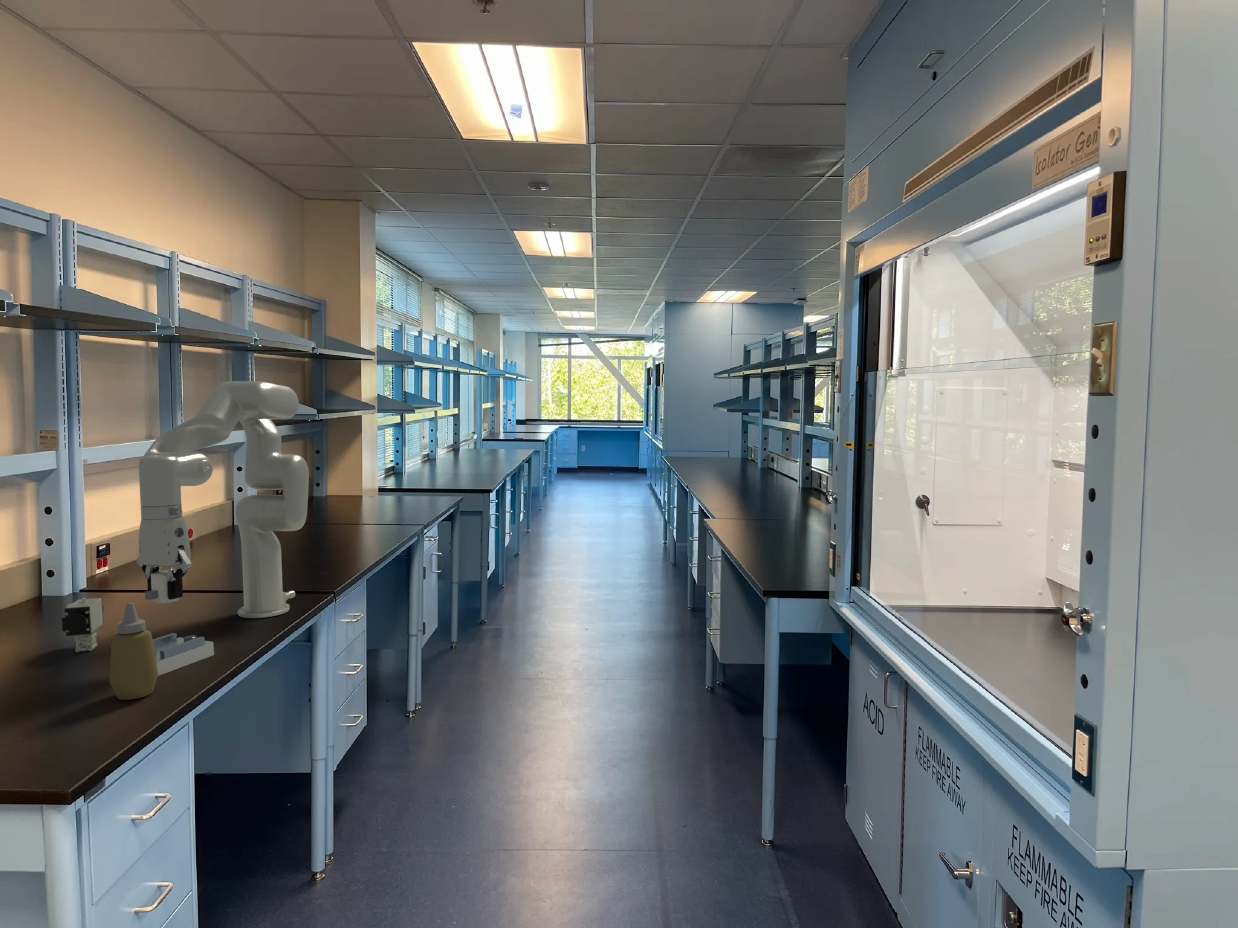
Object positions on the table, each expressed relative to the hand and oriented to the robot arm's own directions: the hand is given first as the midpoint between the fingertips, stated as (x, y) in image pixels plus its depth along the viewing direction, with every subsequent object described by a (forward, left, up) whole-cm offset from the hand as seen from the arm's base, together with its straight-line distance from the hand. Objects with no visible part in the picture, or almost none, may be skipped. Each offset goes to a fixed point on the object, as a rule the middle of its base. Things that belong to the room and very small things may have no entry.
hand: (165, 596), depth 166 cm
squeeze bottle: (+16, +10, -15) cm, 24 cm away
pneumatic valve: (0, -26, -15) cm, 30 cm away
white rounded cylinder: (0, 0, -1) cm, 1 cm away
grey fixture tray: (0, 0, -15) cm, 15 cm away
